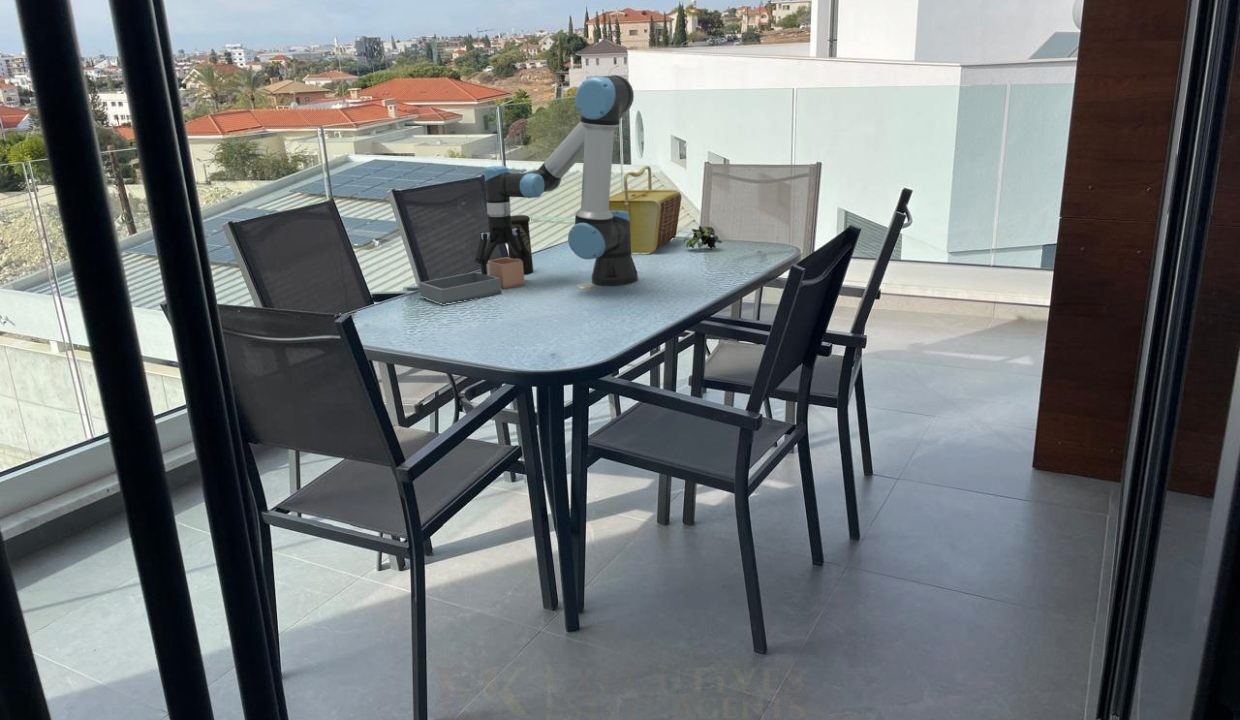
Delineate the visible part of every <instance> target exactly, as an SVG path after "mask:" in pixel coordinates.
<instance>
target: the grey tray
mask: <svg viewBox="0 0 1240 720" xmlns="http://www.w3.org/2000/svg"><path fill="white" fill-rule="evenodd" d="M418 284H419V285H418V286H419V292H420V293H419V294H420V295H419V296H420V297H421V296H423V297H426V298H428V299H431V300H434V301H436V302H439V303H442V304H446V303H452V302H458V301H464V300H469V301H471V300H470V299H474V300H476V299H475V298H478V299H481V298H480V297H483V298H487V297H486V296H488V297H491V295H492V296H495V295H496V294H497V295H501V293H502V289H501V281H500V278H498V277H494V276H490V275H487V274H482V272H480V271H479V272H478V271H473V272H467V273H461V274H456V275H453V276H452V275H451V276H447V277H440V278H436V279H435V278H434V279H430V280H426V281H421V282H420V281H419V282H418ZM502 294H503V293H502ZM497 295H496V296H497ZM464 302H465V301H464Z"/></svg>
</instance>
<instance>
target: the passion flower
mask: <svg viewBox="0 0 1240 720" xmlns="http://www.w3.org/2000/svg"><path fill="white" fill-rule="evenodd" d="M691 231H692V232H693V235H692V238H690V239H689V238H687V237H685V238H684V240H683V244H686V245H685V247H686V248H688V247H689V248H690V247H692V249H694V247H695V245H696V244H697V251H698V252H699V251H700V249H701V248H702V247H703V246H706V245H707V247H710V248H713V249H717V248H716V247H717V246H716V243H717V244H722V242H723V241H722V240H720V238H719V236H718V235H716V232H715V229H714V228H713V227H712V226H709V225H707V226H704V227H703V226H702V225H699V226H698V228H697V229H696V228H693V227H692V229H691ZM687 240H688V241H687ZM700 240H701V241H700ZM686 241H687V242H686Z"/></svg>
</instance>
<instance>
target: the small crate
mask: <svg viewBox="0 0 1240 720" xmlns="http://www.w3.org/2000/svg"><path fill="white" fill-rule="evenodd" d="M487 264H489V267H490V276H494V277H498V278H500V281H501V288H502V289H503V290H507V289H510V288H516V287H521V285H522V286H525V285H526V284H525V282H526V281H525V274H524V270H523V261H521V260H516V259H512V258H509V256H508V257H507V256H506V257H501V258H495V259H491V260H490V259H489V261H488V263H487ZM502 289H501V290H502Z"/></svg>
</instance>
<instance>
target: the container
mask: <svg viewBox="0 0 1240 720" xmlns="http://www.w3.org/2000/svg"><path fill="white" fill-rule="evenodd" d="M510 216H511V229H514V228H517V229H520V236H521V238H522V240H523V243H524V245H525V248H526V250H527V253H528V256H525V258H524V259H523V270H524V275H527V274H528V273H529V274H531V273H533V272H534V263H533V253H532V245H531V236H530V225H529V224H530V223H529V222H530V221H531V217H530V216H528V215H526V214H516V215H510ZM511 239H512V240H513V242H514V244H515V245H516V247H517V248H518V245H517V243H516V241H515V238H514V235H513V234H512V235H511ZM507 247H508V248H507V249H508V258H512V259H516V258H517V257H516V255H515V254H514V253H513V251H512V250H511V249H510V247H509V246H508V245H507ZM518 249H519V248H518ZM519 251H520V250H519ZM517 259H518V258H517Z"/></svg>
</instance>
